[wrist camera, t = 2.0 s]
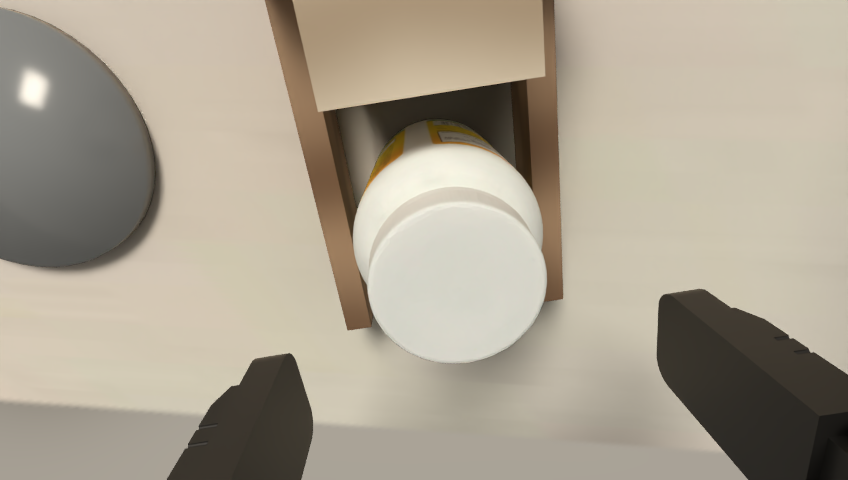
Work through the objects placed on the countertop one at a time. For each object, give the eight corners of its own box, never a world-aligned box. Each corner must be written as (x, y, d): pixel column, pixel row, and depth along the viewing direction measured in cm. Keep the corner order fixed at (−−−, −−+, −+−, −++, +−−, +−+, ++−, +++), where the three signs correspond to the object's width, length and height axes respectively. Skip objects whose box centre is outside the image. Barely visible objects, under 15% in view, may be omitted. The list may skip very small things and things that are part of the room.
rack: (272, -46, 15) (140, -161, 8) (527, -89, 15) (648, -249, 7) (354, 300, 20) (323, 434, 13) (544, 272, 20) (626, 391, 13)
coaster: (-179, 28, 15) (-202, 26, 15) (92, -16, 15) (80, -20, 15) (-31, 276, 19) (-44, 282, 18) (190, 242, 19) (183, 248, 18)
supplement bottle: (479, 99, 17) (558, 131, 8) (510, 220, 19) (601, 353, 10) (352, 142, 18) (295, 215, 9) (395, 256, 19) (385, 412, 11)
